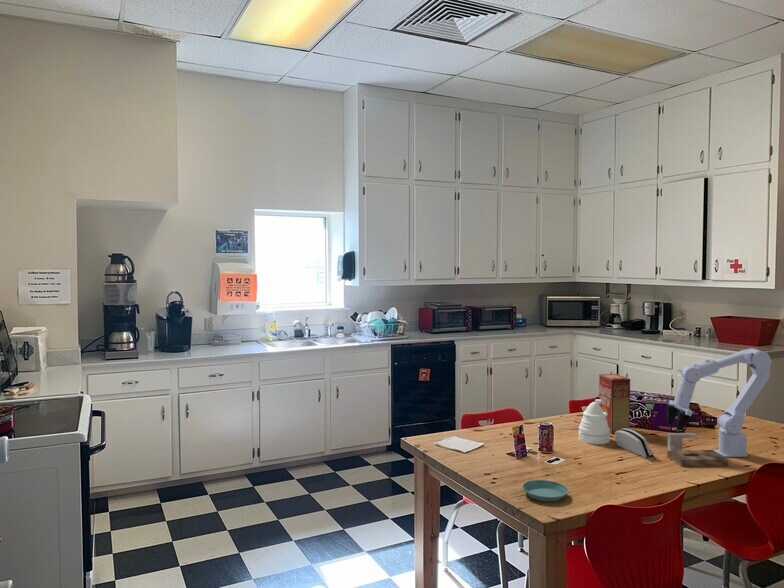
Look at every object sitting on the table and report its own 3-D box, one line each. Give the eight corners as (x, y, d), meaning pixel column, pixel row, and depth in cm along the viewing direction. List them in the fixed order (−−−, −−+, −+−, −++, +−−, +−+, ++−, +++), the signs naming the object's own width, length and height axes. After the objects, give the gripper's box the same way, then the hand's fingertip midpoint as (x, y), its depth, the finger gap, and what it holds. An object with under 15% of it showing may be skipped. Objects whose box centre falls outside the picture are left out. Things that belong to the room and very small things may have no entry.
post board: (711, 456, 234) (711, 450, 233) (728, 465, 223) (728, 459, 222) (666, 456, 233) (667, 450, 233) (681, 466, 222) (681, 459, 222)
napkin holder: (655, 456, 233) (648, 434, 232) (645, 461, 232) (639, 439, 231) (627, 444, 249) (620, 423, 248) (618, 449, 248) (611, 427, 247)
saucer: (542, 508, 185) (542, 499, 185) (513, 491, 198) (513, 484, 198) (577, 499, 191) (577, 491, 191) (547, 484, 205) (547, 477, 205)
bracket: (693, 449, 242) (694, 432, 242) (696, 451, 240) (696, 434, 240) (667, 450, 242) (667, 433, 241) (669, 451, 240) (670, 434, 239)
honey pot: (615, 440, 254) (616, 399, 253) (597, 446, 247) (597, 404, 246) (590, 433, 265) (591, 394, 264) (572, 438, 258) (572, 398, 257)
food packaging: (597, 426, 277) (598, 373, 276) (616, 425, 278) (617, 373, 277) (611, 434, 264) (612, 379, 263) (631, 433, 265) (632, 378, 264)
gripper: (666, 388, 245) (656, 418, 247) (684, 397, 231) (673, 430, 232) (681, 392, 246) (672, 422, 247) (700, 402, 231) (690, 434, 232)
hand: (674, 426), depth 239 cm, fingers open, 7 cm apart
